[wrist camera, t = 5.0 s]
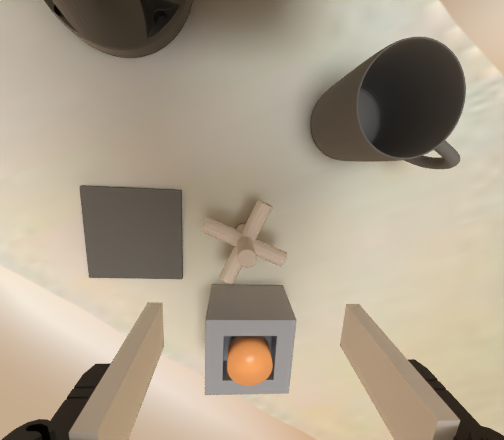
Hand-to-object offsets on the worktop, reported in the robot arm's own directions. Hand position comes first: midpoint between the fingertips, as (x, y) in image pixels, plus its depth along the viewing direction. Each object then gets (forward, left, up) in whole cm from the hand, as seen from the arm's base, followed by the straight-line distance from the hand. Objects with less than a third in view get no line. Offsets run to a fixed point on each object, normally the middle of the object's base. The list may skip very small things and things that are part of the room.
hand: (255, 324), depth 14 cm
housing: (+13, +1, -20) cm, 24 cm away
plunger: (+13, +1, -13) cm, 18 cm away
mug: (-13, +14, -20) cm, 28 cm away
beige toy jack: (0, 0, -20) cm, 20 cm away
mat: (+1, -14, -20) cm, 24 cm away
